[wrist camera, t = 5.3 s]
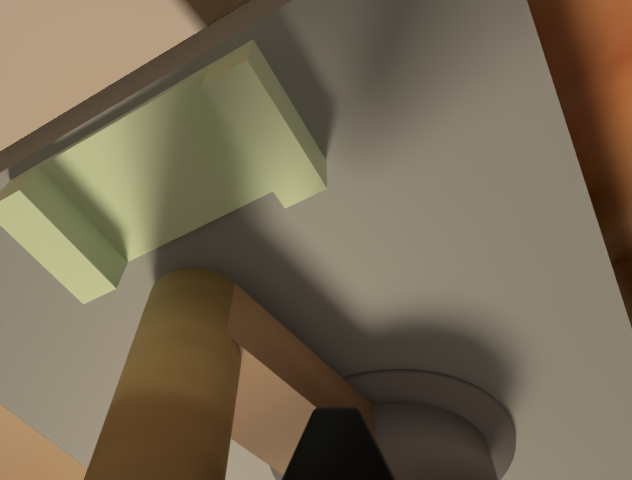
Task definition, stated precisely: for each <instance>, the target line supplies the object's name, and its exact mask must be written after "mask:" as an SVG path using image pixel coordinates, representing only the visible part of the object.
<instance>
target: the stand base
mask: <svg viewBox="0 0 632 480" xmlns="http://www.w3.org/2000/svg"><path fill="white" fill-rule="evenodd" d="M185 268H201V269H207V270H211V271H214V272H217V273H220V274H222V275H224V276H226V277H227V278H229V279H231V280H232V281H233V282H234V283H236V284H237V285H238V286H239V287H240V288H241V289H242V290H244V291H245V292H246V293H247V294H248V295H249V296H250V297H251V298H253V299H254V300H255V301H256V302H257V303H258V304H259V305H260V306H262V307H263V308H264V309H265V310H266V311H267V312H268V313H270V314H271V315H272V316H273V317H274V318H275V319H276V320H277V321H279V322H280V323H281V324H282V325H283V326H284V327H285V328H286V329H288V330H289V331H290V332H291V333H292V334H293V335H294V336H296V337H297V338H298V339H299V340H300V341H301V342H302V343H303V344H305V345H306V346H307V347H308V348H309V349H310V350H311V351H312V352H314V353H315V354H316V355H317V356H318V357H319V358H320V359H321V360H323V361H324V362H325V363H326V364H327V365H328V366H329V367H331V368H332V369H333V370H334V371H335V372H336V373H337V374H338V375H340V376H341V377H342V378H343V379H344V380H345V381H346V382H347V383H349V384H350V385H351V386H352V387H353V388H354V389H355V390H356V391H358V392H359V393H360V394H361V395H362V396H363V397H364V398H366V399H367V400H368V401H369V402H370V403H371V404H372V405H376V404H383V403H416V404H424V405H430V406H434V407H439V408H442V409H445V410H448V411H451V412H453V413H455V414H458V415H460V416H462V417H463V418H465V419H467V420H468V421H470V422H471V423H472V424H473V425H475V426H476V427H477V428H478V429H479V430H480V431H481V433H482V434H483V435H484V437H485V439H486V441H487V443H488V446H489V449H490V453H491V456H492V460H493V464H494V467H495V471H496V474H497V478H498V480H632V328H631V324H630V321H629V318H628V315H627V312H626V309H625V306H624V303H623V299H622V296H621V293H620V290H619V287H618V284H617V281H616V278H615V274H614V271H613V268H612V265H611V262H610V259H609V256H608V252H607V249H606V246H605V243H604V240H603V237H602V234H601V231H600V227H599V224H598V221H597V218H596V215H595V212H594V209H593V206H592V202H591V199H590V196H589V193H588V190H587V187H586V184H585V181H584V177H583V174H582V171H581V168H580V165H579V162H578V159H577V156H576V152H575V149H574V146H573V143H572V140H571V137H570V134H569V131H568V127H567V124H566V121H565V118H564V115H563V112H562V109H561V106H560V102H559V99H558V96H557V93H556V90H555V87H554V84H553V80H552V77H551V74H550V71H549V68H548V65H547V62H546V59H545V55H544V52H543V49H542V46H541V43H540V40H539V37H538V34H537V30H536V27H535V24H534V21H533V18H532V15H531V12H530V9H529V5H528V2H527V0H251V1H249V2H247V3H246V4H244V5H242V6H241V7H239V8H237V9H236V10H234V11H232V12H231V13H229V14H227V15H226V16H224V17H222V18H221V19H219V20H217V21H216V22H214V23H212V24H211V25H209V26H208V27H206V28H204V29H203V30H201V31H199V32H198V33H196V34H194V35H193V36H191V37H189V38H188V39H186V40H184V41H183V42H181V43H179V44H178V45H176V46H174V47H173V48H171V49H169V50H168V51H166V52H164V53H163V54H161V55H159V56H158V57H156V58H154V59H153V60H151V61H150V62H148V63H146V64H145V65H143V66H141V67H140V68H138V69H136V70H135V71H133V72H131V73H130V74H128V75H126V76H125V77H123V78H121V79H120V80H118V81H116V82H115V83H113V84H111V85H110V86H108V87H106V88H105V89H103V90H102V91H100V92H98V93H97V94H95V95H93V96H92V97H90V98H88V99H87V100H85V101H83V102H82V103H80V104H78V105H77V106H75V107H73V108H72V109H70V110H68V111H67V112H65V113H63V114H62V115H60V116H58V117H57V118H55V119H53V120H52V121H50V122H49V123H47V124H45V125H43V126H42V127H40V128H39V129H37V130H35V131H34V132H32V133H31V134H29V135H27V136H25V137H24V138H22V139H20V140H19V141H17V142H15V143H14V144H12V145H10V146H9V147H7V148H5V149H4V150H2V151H0V404H1V405H2V406H4V407H5V408H6V409H8V410H9V411H10V412H12V413H13V414H14V415H16V416H17V417H18V418H20V419H21V420H22V421H24V422H25V423H27V424H28V425H29V426H31V427H32V428H33V429H35V430H36V431H37V432H39V433H40V434H41V435H43V436H44V437H46V438H47V439H48V440H49V441H51V442H52V443H54V444H55V445H56V446H57V447H59V448H60V449H61V450H63V451H64V452H65V453H67V454H68V455H69V456H71V457H72V458H74V459H75V460H77V461H78V462H79V463H80V464H82V465H83V466H84V467H86V468H87V469H88V466H89V464H90V461H91V458H92V455H93V452H94V449H95V447H96V444H97V441H98V438H99V435H100V432H101V430H102V427H103V424H104V421H105V418H106V416H107V413H108V410H109V407H110V404H111V401H112V399H113V396H114V393H115V390H116V387H117V385H118V382H119V379H120V376H121V373H122V370H123V368H124V365H125V362H126V359H127V356H128V353H129V351H130V348H131V345H132V342H133V339H134V337H135V334H136V331H137V328H138V325H139V322H140V320H141V317H142V314H143V311H144V308H145V305H146V303H147V300H148V297H149V294H150V292H151V289H152V287H153V286H154V284H155V283H156V282H157V281H158V280H159V279H160V278H161V277H163V276H164V275H166V274H168V273H170V272H172V271H175V270H179V269H185ZM282 477H283V475H282V474H281V473H279V472H278V471H276V470H275V469H274V468H272V467H271V466H269V465H268V464H266V463H265V462H264V461H262V460H261V459H259V458H258V457H256V456H255V455H254V454H252V453H251V452H249V451H248V450H246V449H245V448H244V447H242V446H241V445H239V444H238V443H236V442H235V441H234V440H232V439H231V441H230V449H229V456H228V463H227V470H226V478H225V480H281V479H282Z"/></svg>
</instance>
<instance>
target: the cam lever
mask: <svg viewBox="0 0 632 480" xmlns="http://www.w3.org/2000/svg"><path fill="white" fill-rule="evenodd" d="M340 406H356V407H358V408H359V409H360V410H361V412H362V414H363V416H364V418H365V420H366V422H367V424H368V426H369V428H370V430H371V432H372V434H373V436H374V438H375V440H376V442H377V444H378V446H379V448H380V450H381V452H382V454H383V456H384V458H385V459H386V461H387V463H388V465H389V467H390V469H391V471H392V473H393V475H394V477H395V479H396V480H498V478H497V474H496V471H495V467H494V464H493V460H492V456H491V453H490V449H489V446H488V443H487V441H486V439H485V437H484V435H483V434H482V433H481V431H480V430H479V429H478V428H477V427H476V426H475V425H473V424H472V423H471V422H470V421H468V420H467V419H465V418H463V417H462V416H460V415H458V414H455V413H453V412H451V411H448V410H445V409H442V408H439V407H434V406H430V405H424V404H416V403H383V404H376V405H372V404H371V403H370V402H369V401H368V400H367V399H366V398H364V397H363V396H362V395H361V394H360V393H359V392H358V391H356V390H355V389H354V388H353V387H352V386H351V385H350V384H349V383H347V382H346V381H345V380H344V379H343V378H342V377H341V376H340V375H338V374H337V373H336V372H335V371H334V370H333V369H332V368H331V367H329V366H328V365H327V364H326V363H325V362H324V361H323V360H321V359H320V358H319V357H318V356H317V355H316V354H315V353H314V352H312V351H311V350H310V349H309V348H308V347H307V346H306V345H305V344H303V343H302V342H301V341H300V340H299V339H298V338H297V337H296V336H294V335H293V334H292V333H291V332H290V331H289V330H288V329H286V328H285V327H284V326H283V325H282V324H281V323H280V322H279V321H277V320H276V319H275V318H274V317H273V316H272V315H271V314H270V313H268V312H267V311H266V310H265V309H264V308H263V307H262V306H260V305H259V304H258V303H257V302H256V301H255V300H254V299H253V298H251V297H250V296H249V295H248V294H247V293H246V292H245V291H244V290H242V289H241V288H240V287H239V286H238V285H237V284H236V283H234V282H233V281H232V280H231V279H229V278H227V277H226V276H224V275H222V274H220V273H217V272H214V271H211V270H207V269H201V268H185V269H179V270H175V271H172V272H170V273H168V274H166V275H164V276H163V277H161V278H160V279H159V280H158V281H157V282H156V283H155V284H154V286H153V287H152V289H151V292H150V294H149V297H148V300H147V303H146V305H145V308H144V311H143V314H142V317H141V320H140V322H139V325H138V328H137V331H136V334H135V337H134V339H133V342H132V345H131V348H130V351H129V353H128V356H127V359H126V362H125V365H124V368H123V370H122V373H121V376H120V379H119V382H118V385H117V387H116V390H115V393H114V396H113V399H112V401H111V404H110V407H109V410H108V413H107V416H106V418H105V421H104V424H103V427H102V430H101V432H100V435H99V438H98V441H97V444H96V447H95V449H94V452H93V455H92V458H91V461H90V464H89V466H88V469H87V472H86V475H85V478H84V480H225V478H226V470H227V463H228V456H229V449H230V441H231V439H232V440H234V441H235V442H236V443H238V444H239V445H241V446H242V447H244V448H245V449H246V450H248V451H249V452H251V453H252V454H254V455H255V456H256V457H258V458H259V459H261V460H262V461H264V462H265V463H266V464H268V465H269V466H271V467H272V468H274V469H275V470H276V471H278V472H279V473H281V474H282V475H284V473H285V471H286V468H287V466H288V464H289V462H290V460H291V457H292V455H293V453H294V451H295V449H296V446H297V444H298V442H299V440H300V438H301V435H302V433H303V431H304V429H305V427H306V424H307V422H308V420H309V418H310V416H311V413H312V412H313V410H314V409H315V408H318V407H340Z"/></svg>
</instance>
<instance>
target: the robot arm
mask: <svg viewBox="0 0 632 480" xmlns="http://www.w3.org/2000/svg"><path fill="white" fill-rule="evenodd" d="M281 480H396V479H395V477H394V475H393V473H392V471H391V469H390V467H389V465H388V463H387V461H386V459H385V458H384V456H383V454H382V452H381V450H380V448H379V446H378V444H377V442H376V440H375V438H374V436H373V434H372V432H371V430H370V428H369V426H368V424H367V422H366V420H365V418H364V416H363V414H362V412H361V410H360V409H359V408H358V407H356V406H340V407H318V408H315V409H314V410H313V412H312V413H311V416H310V418H309V420H308V422H307V424H306V427H305V429H304V431H303V433H302V435H301V438H300V440H299V442H298V444H297V446H296V449H295V451H294V453H293V455H292V457H291V460H290V462H289V464H288V466H287V468H286V471H285V473H284V475H283V477H282V479H281Z"/></svg>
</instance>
